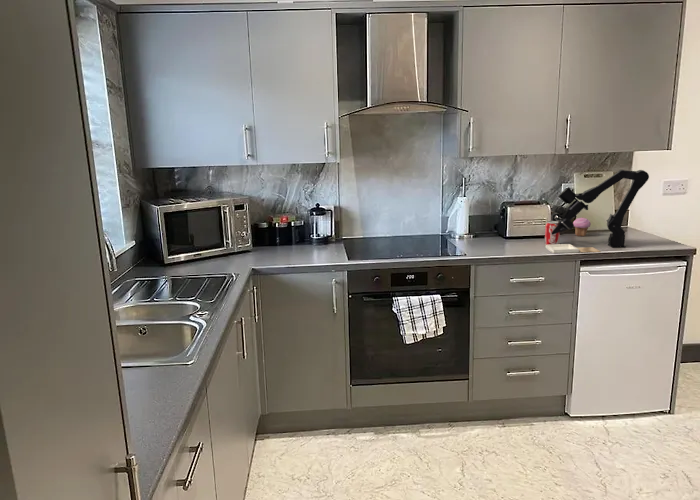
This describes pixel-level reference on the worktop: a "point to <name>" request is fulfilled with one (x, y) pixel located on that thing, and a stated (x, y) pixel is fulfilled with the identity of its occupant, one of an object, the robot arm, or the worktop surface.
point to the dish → (562, 248)
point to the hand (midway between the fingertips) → (549, 232)
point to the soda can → (548, 236)
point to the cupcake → (581, 226)
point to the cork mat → (588, 250)
